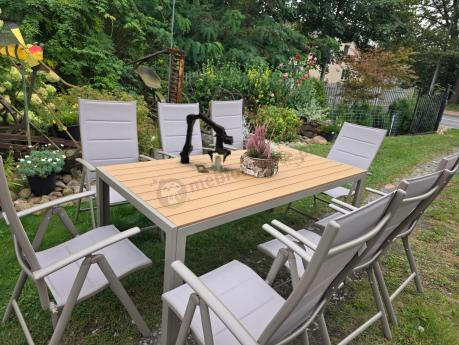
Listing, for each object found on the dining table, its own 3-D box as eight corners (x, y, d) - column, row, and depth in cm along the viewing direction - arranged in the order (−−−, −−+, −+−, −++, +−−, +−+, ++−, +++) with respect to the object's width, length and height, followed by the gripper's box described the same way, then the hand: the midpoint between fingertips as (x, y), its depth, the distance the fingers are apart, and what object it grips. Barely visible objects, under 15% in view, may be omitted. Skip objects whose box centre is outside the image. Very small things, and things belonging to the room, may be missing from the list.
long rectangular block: (216, 169, 229) (217, 157, 226) (214, 166, 234) (215, 155, 232) (220, 169, 230) (221, 157, 227) (218, 166, 235) (218, 155, 233)
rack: (198, 171, 222) (199, 169, 222) (195, 166, 232) (195, 164, 231) (206, 170, 224) (206, 169, 224) (203, 166, 234) (203, 164, 233)
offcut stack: (198, 173, 219) (198, 169, 218) (197, 171, 222) (198, 168, 221) (208, 173, 220) (209, 170, 219) (208, 172, 223) (208, 169, 222)
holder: (214, 170, 227) (214, 167, 226) (211, 166, 235) (211, 163, 234) (223, 170, 229) (224, 167, 229) (220, 166, 238) (220, 163, 237)
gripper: (210, 145, 216) (208, 165, 221) (234, 145, 222) (232, 165, 227) (206, 142, 226) (205, 161, 230) (229, 142, 232) (227, 161, 237)
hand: (217, 162), depth 231 cm, fingers open, 9 cm apart
